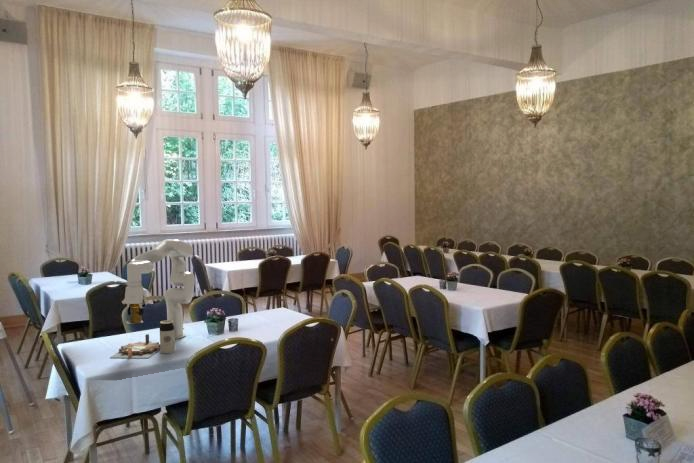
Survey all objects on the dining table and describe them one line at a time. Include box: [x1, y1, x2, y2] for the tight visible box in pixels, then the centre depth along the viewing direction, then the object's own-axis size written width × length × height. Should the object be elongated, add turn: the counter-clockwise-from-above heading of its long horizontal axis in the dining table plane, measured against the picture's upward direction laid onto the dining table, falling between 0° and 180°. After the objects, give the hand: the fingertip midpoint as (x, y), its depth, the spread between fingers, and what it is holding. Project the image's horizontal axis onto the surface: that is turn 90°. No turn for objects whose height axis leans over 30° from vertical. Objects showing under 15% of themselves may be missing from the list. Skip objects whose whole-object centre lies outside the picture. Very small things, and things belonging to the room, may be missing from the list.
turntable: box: [118, 333, 160, 354], centre depth 320 cm, size 23×23×7 cm
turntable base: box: [109, 348, 160, 360], centre depth 318 cm, size 26×22×6 cm
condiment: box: [125, 304, 144, 325], centre depth 314 cm, size 7×8×12 cm
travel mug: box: [159, 319, 176, 355], centre depth 317 cm, size 8×8×18 cm
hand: (135, 314), depth 314 cm, fingers closed on condiment, 6 cm apart
